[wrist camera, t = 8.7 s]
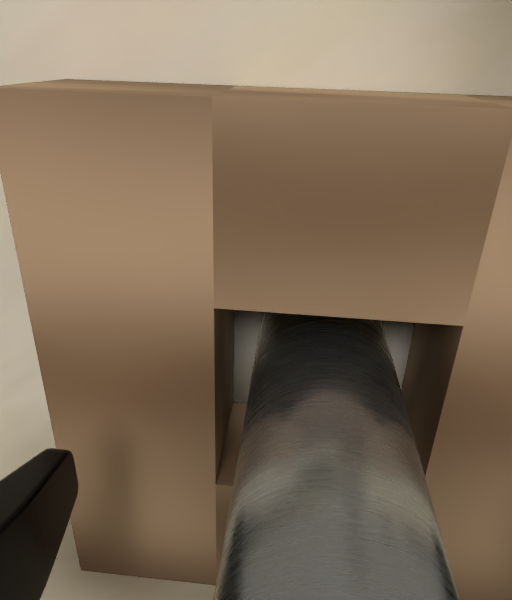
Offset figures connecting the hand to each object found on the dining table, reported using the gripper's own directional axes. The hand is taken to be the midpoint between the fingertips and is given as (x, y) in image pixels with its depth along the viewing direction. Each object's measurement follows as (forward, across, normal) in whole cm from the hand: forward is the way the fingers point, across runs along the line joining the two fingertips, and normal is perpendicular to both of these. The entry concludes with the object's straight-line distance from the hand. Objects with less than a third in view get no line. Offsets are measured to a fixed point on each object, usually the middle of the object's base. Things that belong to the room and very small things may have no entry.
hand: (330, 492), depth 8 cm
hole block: (+5, 0, 0) cm, 5 cm away
